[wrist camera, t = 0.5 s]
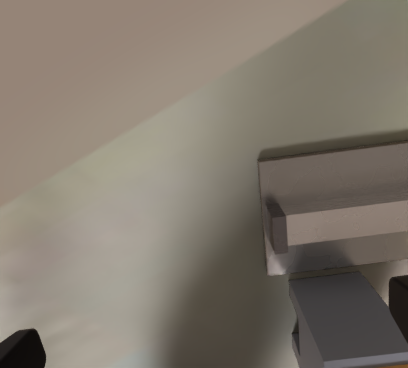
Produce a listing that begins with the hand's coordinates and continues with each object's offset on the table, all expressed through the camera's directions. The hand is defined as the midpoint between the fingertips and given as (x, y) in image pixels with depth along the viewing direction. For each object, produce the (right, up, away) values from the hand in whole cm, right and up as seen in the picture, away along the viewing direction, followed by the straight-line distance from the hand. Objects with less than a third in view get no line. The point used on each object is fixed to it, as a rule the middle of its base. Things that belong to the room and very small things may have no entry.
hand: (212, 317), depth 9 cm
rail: (+14, +2, +13) cm, 19 cm away
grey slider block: (+9, -6, +16) cm, 19 cm away
